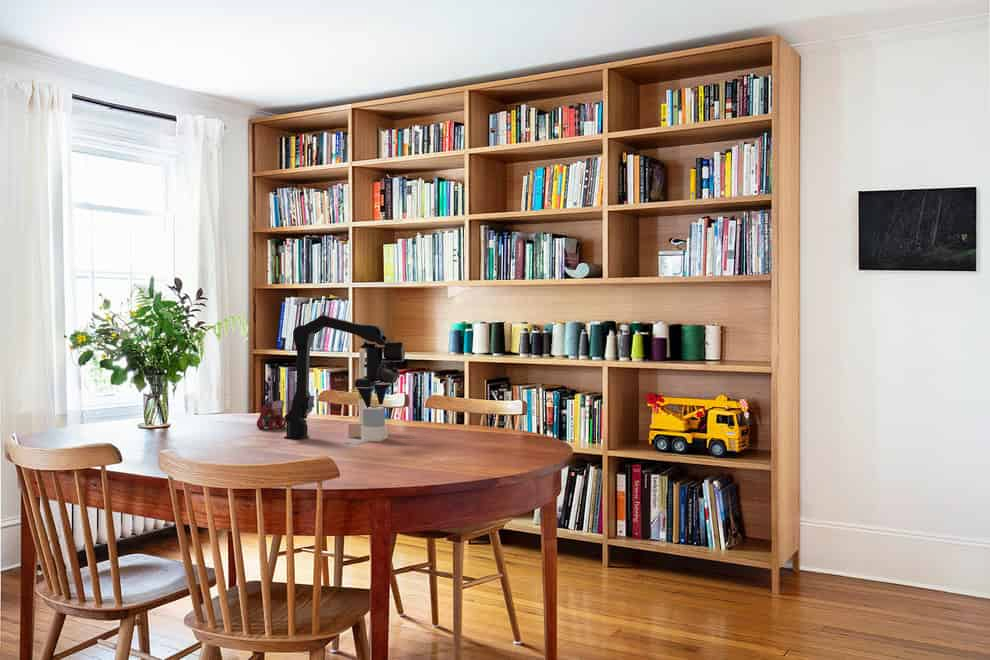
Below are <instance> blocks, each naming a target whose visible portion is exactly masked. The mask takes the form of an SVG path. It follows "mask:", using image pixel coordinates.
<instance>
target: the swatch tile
mask: <svg viewBox="0 0 990 660" xmlns="http://www.w3.org/2000/svg"><path fill="white" fill-rule="evenodd" d="M346 443H347V444H348V443H349V444H350V445H361V444H365V443H368V441H367V440H361V439H353V438H351V439H350V440H345V441H342V442H341V444H346ZM347 444H346V445H347ZM349 444H348V445H349Z"/></svg>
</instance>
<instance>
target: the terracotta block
mask: <svg viewBox="0 0 990 660" xmlns="http://www.w3.org/2000/svg"><path fill="white" fill-rule="evenodd" d="M362 426H363V422H359V421H350V422H349V423H348V424H347V427H348V429H347V431H348V432H347V434H348V435H347V436H348V438H353V437H361V427H362Z"/></svg>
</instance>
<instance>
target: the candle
mask: <svg viewBox="0 0 990 660" xmlns="http://www.w3.org/2000/svg"><path fill="white" fill-rule="evenodd" d="M358 351H359V353H358V354H359V355H358V356H359V358H358V359H359V360H358V361H359V362H358V364H359V366H358V368H359V369H358V370H359V378H358V379H360V378H364V376H366V367H364V364H366V349H365V348H360V349H359V350H358ZM350 392H354V393H358V422H363V409H366V408H367V406H366V404H365V402H364V400H363V398H362V396H361V394H360V393H359V391H358V389H357V388H352V389H350Z"/></svg>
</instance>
